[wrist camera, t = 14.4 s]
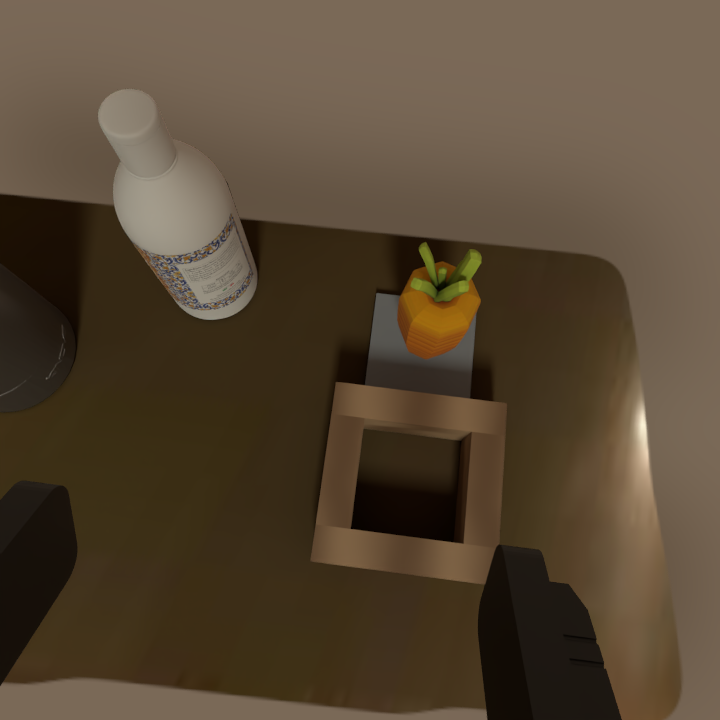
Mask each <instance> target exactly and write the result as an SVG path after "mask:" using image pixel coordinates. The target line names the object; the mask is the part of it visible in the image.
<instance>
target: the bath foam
mask: <svg viewBox="0 0 720 720" xmlns="http://www.w3.org/2000/svg"><path fill="white" fill-rule="evenodd" d="M98 120H99V124H100V126H101V128H102V130H103V132H104V134H105V135H106V137H107V139H108V140H109V142H110V143H111V145H112V147H113V149H114V150H115V152H116V154H117V155H118V157H119V158H120V160H121V161H120V163H119V166H118V168H117V171H116V174H115V178H114V185H113V199H114V205H115V210H116V213H117V216H118V219H119V221H120V223H121V225H122V228H123V230H124V232H125V233H126V235H127V236H128V237H129V239H130V240H131V241H132V243H133V244H134V246H135V247H136V248H137V250H138V251H139V252H140V254H141V255H142V257H143V258H144V259H145V261H146V262H147V263H148V265H149V266H150V267H151V269H152V270H153V272H154V273H155V274H156V276H157V277H158V278H159V280H160V281H161V282H162V284H163V285H164V287H165V288H166V289H167V291H168V292H169V293H170V295H171V296H172V297H173V298H174V300H175V301H176V302H177V304H178V305H179V306H180V307H181V308H182V309H183V310H184V311H186V312H187V313H189V314H190V315H192V316H194V317H197V318H201V319H206V320H215V319H222V318H226V317H229V316H232V315H234V314H236V313H237V312H239V311H240V310H241V309H243V308H244V307H245V306H246V305H247V304H248V302H249V301H250V300H251V298H252V296H253V294H254V292H255V289H256V286H257V269H256V266H255V262H254V260H253V257H252V254H251V251H250V247H249V244H248V241H247V239H246V236H245V233H244V230H243V227H242V224H241V221H240V218H239V215H238V212H237V209H236V206H235V204H234V201H233V198H232V195H231V192H230V189H229V186H228V183H227V182H226V180H225V179H224V177H223V175H222V174H221V172H220V171H219V169H218V168H217V167H216V165H215V164H214V163H213V162H212V161H211V160H210V159H209V158H208V157H207V156H206V155H205V154H203V153H202V152H201V151H200V150H198V149H196V148H195V147H193V146H191V145H189V144H187V143H184V142H182V141H179V140H176V139H172V138H171V135H170V133H169V131H168V128H167V126H166V124H165V122H164V120H163V117H162V115H161V113H160V111H159V108H158V106H157V104H156V103H155V101H154V99H153V98H152V97H151V96H150V95H148V94H147V93H145V92H143V91H141V90H137V89H123V90H119V91H116V92H114V93H112V94H111V95H109V96H108V97H107V98H106V99H105V100H104V101H103V103H102V104H101V106H100V108H99V111H98Z"/></svg>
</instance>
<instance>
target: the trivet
mask: <svg viewBox="0 0 720 720" xmlns="http://www.w3.org/2000/svg"><path fill="white" fill-rule="evenodd" d="M399 298H400V296H397V295H389V294H380V293H377V294H376V302H375V309H374V317H373V325H372V333H371V341H370V349H369V356H368V364H367V372H366V380H365V385H366V386H374V387H382V388H390V389H397V390H405V391H413V392H421V393H429V394H437V395H445V396H453V397H461V398H469V399H470V391H471V377H472V364H473V351H474V337H475V324H476V314H475V316H474V318H473V320H472V322H471V325H470V327H469V329H468V331H467V332H466V334H465V335H464V337H463V338H462V340H461V341H460V342H459V343H458V345H457V346H456V347H455V348H453V349H452V350H450V351H448V352H446V353H444V354H441V355H438V356H435V357H432V358H429V359H426V360H425V359H423V358H421V357H419V356H417V355H414V354H412V353H410V352H408V349H407V347H406V344H405V341H404V339H403V336H402V334H401V331H400V328H399V325H398V321H397V314H398V304H399Z"/></svg>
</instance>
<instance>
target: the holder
mask: <svg viewBox="0 0 720 720" xmlns="http://www.w3.org/2000/svg"><path fill="white" fill-rule="evenodd" d="M506 414H507V403H500V402H492V401H484V400H476V399H469V398H461V397H453V396H445V395H437V394H429V393H421V392H413V391H405V390H397V389H390V388H382V387H374V386H366V385H358V384H350V383H342V382H336V386H335V393H334V400H333V407H332V414H331V421H330V428H329V435H328V442H327V449H326V456H325V463H324V470H323V477H322V484H321V491H320V498H319V505H318V512H317V519H316V526H315V533H314V540H313V547H312V554H311V561H312V562H320V563H327V564H335V565H342V566H350V567H357V568H365V569H372V570H380V571H388V572H395V573H403V574H410V575H418V576H425V577H433V578H440V579H448V580H455V581H463V582H470V583H478V584H485V583H486V579H487V576H488V572H489V569H490V565H491V562H492V558H493V555H494V552H495V549H496V547H497V545H499V539H500V521H501V503H502V485H503V467H504V450H505V432H506ZM363 428H364V429H372V430H380V431H388V432H396V433H403V434H411V435H419V436H427V437H435V438H442V439H450V440H458V441H461V452H460V465H459V478H458V490H457V503H456V516H455V529H454V542H446V541H438V540H431V539H423V538H415V537H408V536H400V535H393V534H385V533H377V532H370V531H362V530H355V529H351V523H352V515H353V507H354V499H355V491H356V483H357V475H358V467H359V459H360V451H361V443H362V435H363Z"/></svg>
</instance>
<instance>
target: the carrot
mask: <svg viewBox="0 0 720 720" xmlns="http://www.w3.org/2000/svg"><path fill="white" fill-rule="evenodd" d="M419 252H420V254H421V256H422V258H423V260H424V262H425V265H426V266H425V267H422V268H419V269H416V270H414V271H413V272H412V274H411V276H410V278H409V280H408V282H407V284H406V286H405V288H404V290H403V292H402V294H401V296H400V298H399V304H398V314H397V321H398V325H399V328H400V331H401V334H402V336H403V339H404V341H405V344H406V347H407V349H408V352H410V353H412V354H414V355H417V356H419V357H421V358H423V359H425V360H426V359H429V358H432V357H435V356H438V355H441V354H444V353H446V352H448V351H450V350H452V349H453V348H455V347H456V346H457V345H458V343H459V342H460V341H461V340H462V338H463V337H464V335H465V334H466V332H467V331H468V329H469V327H470V325H471V322H472V320H473V318H474V316H475V314H476V312H477V309H478V307H479V305H480V302H481V300H480V297H479V295H478V293H477V290H476V288H475V286H474V283H473V281H472V279H471V278H472V276H473V275H474V274H475V272H476V270H477V269H478V267H479V265H480V264H481V258H482V257H481V255H480V253H479V252H478V251H476V250H473V249H469V251H468V253H467V254H466V256H465V257H464V259H463V261H461V262H460V263H459V265H458V266H457V267H454V266H452V265H450V264H448V263H445V262H443V261H441V262H438V263H434V259H433V255H432V253H431V251H430V249H429V247H428V245H427V243H426V242H424V243H422V244H421V245H420V246H419Z"/></svg>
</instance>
